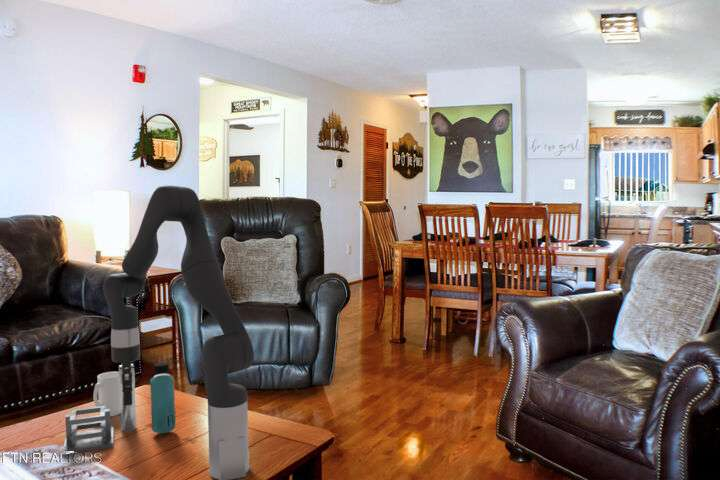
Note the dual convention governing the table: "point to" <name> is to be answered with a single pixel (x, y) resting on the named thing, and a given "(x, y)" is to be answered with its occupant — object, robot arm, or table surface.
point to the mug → (108, 392)
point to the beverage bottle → (162, 400)
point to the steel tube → (128, 409)
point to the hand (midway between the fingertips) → (127, 402)
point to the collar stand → (88, 438)
